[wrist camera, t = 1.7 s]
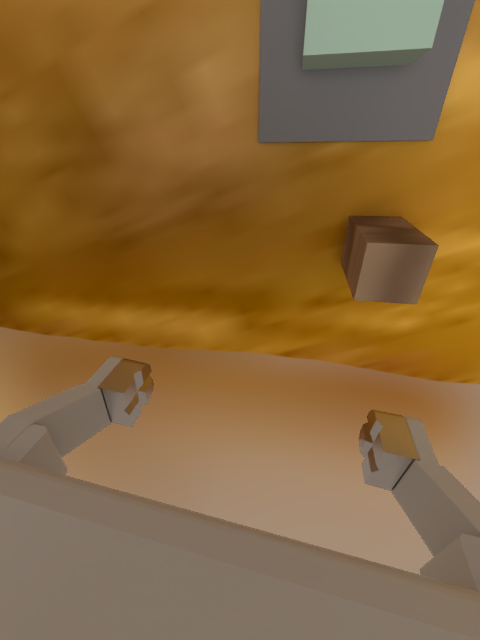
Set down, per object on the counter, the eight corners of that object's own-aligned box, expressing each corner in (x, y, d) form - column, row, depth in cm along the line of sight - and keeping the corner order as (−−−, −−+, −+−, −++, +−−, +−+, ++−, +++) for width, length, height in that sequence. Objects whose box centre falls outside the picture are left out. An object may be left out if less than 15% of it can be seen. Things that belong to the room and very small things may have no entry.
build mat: (259, 142, 27) (258, 142, 26) (265, -178, 18) (264, -187, 17) (429, 140, 25) (432, 140, 24) (538, -228, 15) (546, -240, 15)
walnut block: (340, 261, 32) (354, 300, 24) (349, 215, 29) (367, 242, 22) (388, 264, 31) (416, 304, 24) (401, 217, 28) (438, 245, 21)
